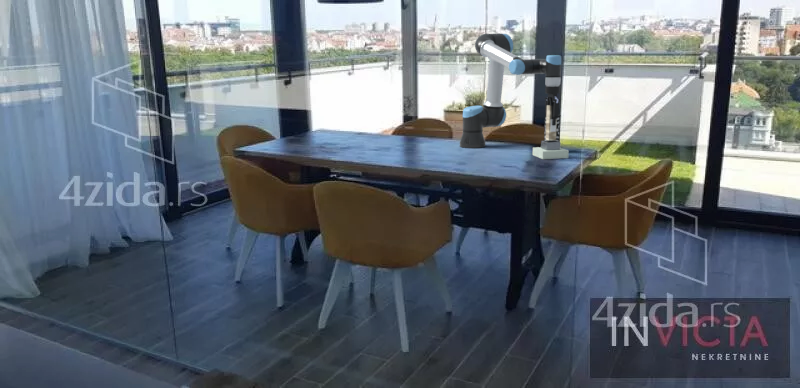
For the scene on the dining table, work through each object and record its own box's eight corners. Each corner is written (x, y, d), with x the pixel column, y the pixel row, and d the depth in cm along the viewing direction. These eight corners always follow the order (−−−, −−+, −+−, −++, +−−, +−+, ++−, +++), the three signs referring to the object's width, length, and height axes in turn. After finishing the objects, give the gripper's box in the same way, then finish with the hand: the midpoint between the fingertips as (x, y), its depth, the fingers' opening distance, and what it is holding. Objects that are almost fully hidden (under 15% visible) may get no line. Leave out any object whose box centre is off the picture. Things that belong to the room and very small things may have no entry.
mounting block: (542, 159, 320) (542, 151, 319) (532, 154, 334) (532, 147, 333) (568, 158, 322) (568, 150, 321) (557, 153, 336) (557, 146, 335)
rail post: (548, 140, 324) (549, 105, 320) (545, 139, 328) (546, 105, 324) (555, 140, 324) (557, 105, 320) (552, 139, 328) (554, 104, 324)
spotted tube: (559, 150, 348) (561, 114, 344) (558, 152, 340) (559, 115, 336) (544, 149, 351) (545, 114, 346) (542, 151, 343) (544, 115, 339)
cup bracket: (546, 150, 323) (546, 142, 322) (540, 148, 330) (541, 140, 329) (560, 149, 324) (560, 142, 323) (554, 147, 331) (554, 140, 330)
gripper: (566, 86, 312) (564, 132, 317) (552, 84, 329) (551, 128, 334) (552, 86, 311) (550, 133, 316) (539, 85, 327) (538, 129, 333)
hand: (551, 130), depth 325 cm, fingers closed on rail post, 4 cm apart
